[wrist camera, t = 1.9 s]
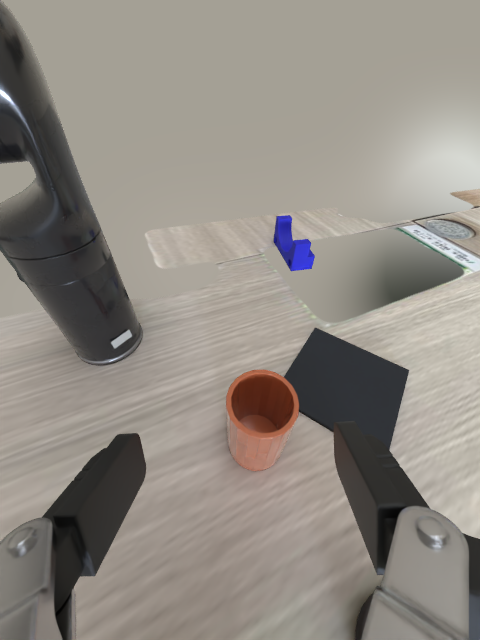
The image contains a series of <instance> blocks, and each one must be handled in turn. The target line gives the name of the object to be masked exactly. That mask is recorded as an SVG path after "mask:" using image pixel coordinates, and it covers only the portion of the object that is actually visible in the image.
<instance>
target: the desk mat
mask: <svg viewBox="0 0 480 640" xmlns="http://www.w3.org/2000/svg"><path fill="white" fill-rule="evenodd" d="M408 372H409V370H407V369H405V368H403V367H401V366H399V365H396V364H394V363H392V362H390V361H388V360H385V359H383V358H381V357H379V356H377V355H374V354H372V353H370V352H368V351H366V350H363V349H361V348H359V347H357V346H355V345H352V344H350V343H348V342H346V341H344V340H341V339H339V338H337V337H335V336H333V335H330V334H328V333H326V332H324V331H322V330H319V329H317V328H315V329H314V331H313V332H312V334H311V335H310V337H309V339H308V340H307V342H306V343H305V345H304V346H303V348H302V350H301V351H300V353H299V354H298V356H297V358H296V359H295V361H294V362H293V364H292V365H291V367H290V369H289V370H288V372H287V373H286V375H285V376H284V378H285V379H286V380H287V381H288V382H289V383H290V384H291V385H292V386H293V388H294V390H295V392H296V394H297V396H298V401H299V412H301V413H303V414H304V415H306V416H308V417H309V418H311V419H313V420H314V421H316V422H318V423H319V424H321V425H323V426H324V427H326V428H328V429H329V430H331V431H333V432H334V422H345V421H355V422H356V424H357V425H358V427H359V429H360V430H361V432H362V434H363V435H367V434H372V435H374V436H375V437H376V438H378V439H379V440H380V441H382V442H383V443H384V444H385V445H386V447H387V448H388V449H390V445H391V441H392V436H393V432H394V428H395V424H396V420H397V416H398V412H399V408H400V404H401V400H402V396H403V392H404V388H405V384H406V380H407V376H408Z"/></svg>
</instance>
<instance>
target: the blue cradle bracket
mask: <svg viewBox="0 0 480 640" xmlns="http://www.w3.org/2000/svg"><path fill="white" fill-rule="evenodd" d="M291 223H292V218H291V216H290V215H288V216H277V218H276V226H275V234H274V243H275V245H276V246H277V248H278V250H279V251H280V253H281V255H282V256H283V258H284V260H285V261H286V263H287V265H288V267H289V268H290V270H291V271H295V270H304V269H312V265H313V261H314V257H315V256H314V254H313V253H312V252H311V250H310V246H311V242H310V241H309V240H308V239H305V240H294V241H293V239H292V233H291Z"/></svg>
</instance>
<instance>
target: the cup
mask: <svg viewBox="0 0 480 640" xmlns="http://www.w3.org/2000/svg"><path fill="white" fill-rule="evenodd" d="M226 412H227V433H228V446H229V450H230V453H231V455H232V457H233V458H234V460H235V461H236V462H237V463H238V464H239V465H240V466H242V467H244V468H246V469H248V470H252V471H261V470H265V469H268V468H270V467H271V466H273V465H274V464H275V463H276V461H277V460H278V459H279V457H280V455H281V453H282V451H283V449H284V447H285V444H286V442H287V440H288V438H289V435H290V433H291V431H292V429H293V426H294V424H295V422H296V420H297V417H298V412H299V401H298V396H297V394H296V392H295V390H294V388H293V386H292V385H291V384H290V383H289V382H288V381H287V380H286V379H285V378H284V377H282V376H281V375H279V374H277V373H275V372H272V371H268V370H252V371H249V372H246V373H244V374H242V375H241V376H239V377H238V378H236V379H235V381H234V382H233V383H232V384H231V386H230V387H229V390H228V393H227V396H226Z"/></svg>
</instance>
